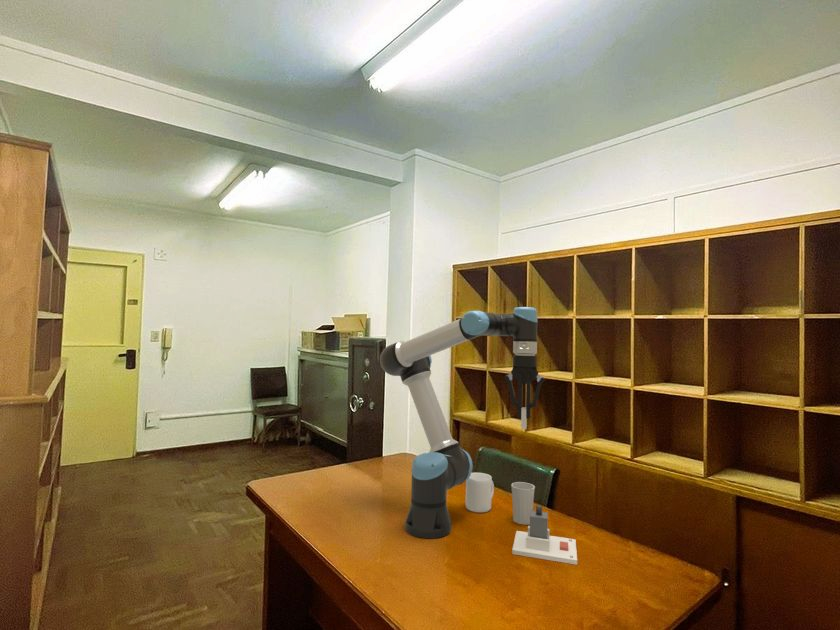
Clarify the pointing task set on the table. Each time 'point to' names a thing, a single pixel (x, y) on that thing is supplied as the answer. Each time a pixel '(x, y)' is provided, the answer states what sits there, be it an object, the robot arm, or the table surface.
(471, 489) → the mug
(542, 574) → the table surface
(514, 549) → the socket
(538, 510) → the plug
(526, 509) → the cup
